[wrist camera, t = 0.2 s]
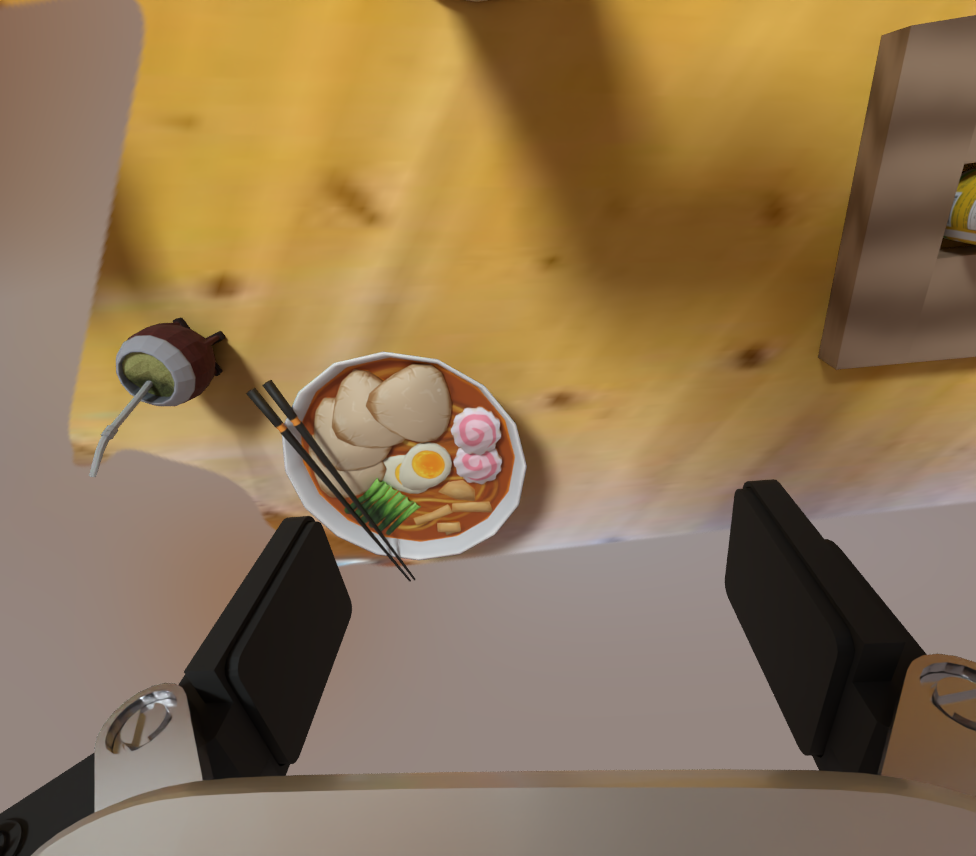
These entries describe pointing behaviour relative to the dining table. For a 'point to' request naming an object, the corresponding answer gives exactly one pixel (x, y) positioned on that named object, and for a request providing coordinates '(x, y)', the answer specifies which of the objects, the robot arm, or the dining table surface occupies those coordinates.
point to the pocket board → (909, 208)
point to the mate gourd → (161, 370)
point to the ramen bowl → (401, 455)
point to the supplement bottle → (963, 211)
